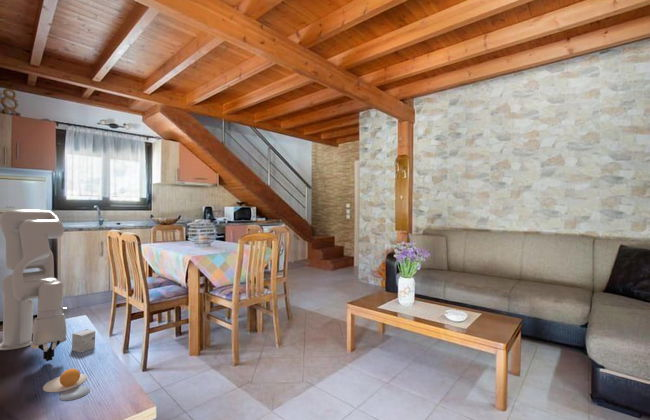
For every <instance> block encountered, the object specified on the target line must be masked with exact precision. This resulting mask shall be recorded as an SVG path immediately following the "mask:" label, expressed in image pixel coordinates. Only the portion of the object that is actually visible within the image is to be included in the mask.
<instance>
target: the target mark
mask: <svg viewBox="0 0 650 420" xmlns="http://www.w3.org/2000/svg"><path fill="white" fill-rule="evenodd" d="M87 379H88V377H87V375H86V374H85V373H80V378H79V380H78V381H77V383H75V384H74V385H72V386H69V387H65V386H63V385H61V383H60V376H58V377H55V378H53V379H51V380H49V381H48V382H46V383H45V384H44V385H43V386H42V390H43V391H44V392H46V393H59V392H65V391H67V390H69V389H72V388H76V387H80V386H82V384H84V383H85V382H86V381H87Z"/></svg>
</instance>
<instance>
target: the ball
mask: <svg viewBox="0 0 650 420" xmlns="http://www.w3.org/2000/svg"><path fill="white" fill-rule="evenodd" d="M80 374H81V373H80V370H78V369H77V368H68V369H67V370H64V371H63V373H62V374H61V375H60V376H59V377H60V383H61V385H63V386H65V387H69V386H72V385H74V384H75V383H77V381H78V380H79V378H80Z"/></svg>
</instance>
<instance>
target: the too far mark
mask: <svg viewBox="0 0 650 420" xmlns="http://www.w3.org/2000/svg"><path fill="white" fill-rule="evenodd" d="M90 391H91V388H90V387H89V386H77V387H74V388H72V389H69V390H65V391H62V393H61V394H60V395H59V400H60V401H63V402H64V401H65V402H68V401H69V400H70V401H74V400H78V399H80V398H83V397H85V396H87V395H88V394H89V393H90Z"/></svg>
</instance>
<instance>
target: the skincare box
mask: <svg viewBox="0 0 650 420" xmlns="http://www.w3.org/2000/svg"><path fill="white" fill-rule="evenodd" d="M71 336H72V338H71V340H72V341H71V351H73V352H75V353H76V352H77V353H84V352H86V351H88V350H89V351H90V350H92V349H95V348H96V330H92V329H87V328H86V329H84V330H79V331H75V332H73V333H72V335H71Z"/></svg>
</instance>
